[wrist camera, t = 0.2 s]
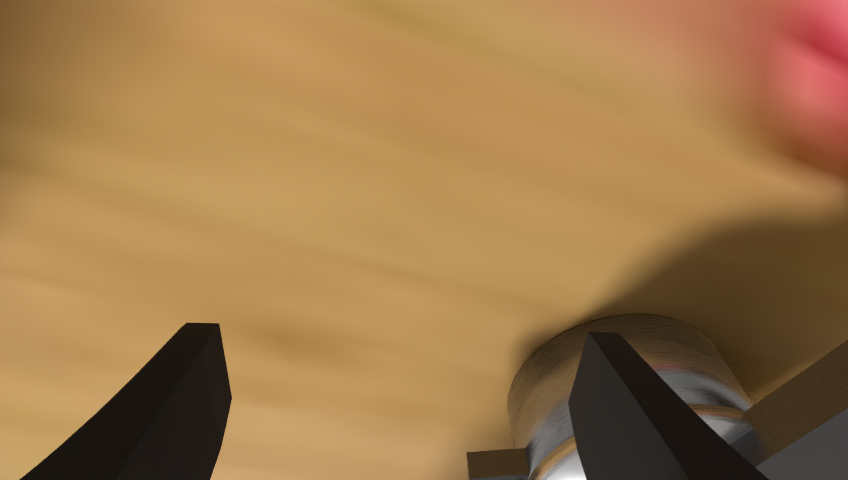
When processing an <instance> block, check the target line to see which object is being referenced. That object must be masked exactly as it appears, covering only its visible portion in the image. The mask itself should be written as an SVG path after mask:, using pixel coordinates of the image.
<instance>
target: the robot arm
mask: <svg viewBox="0 0 848 480" xmlns="http://www.w3.org/2000/svg"><path fill="white" fill-rule="evenodd" d="M231 400H232V396H231V390H230V384H229V379H228V373H227V367H226V361H225V355H224V349H223V344H222V338H221V332H220V326H219V324H218V323H186V324H185V325H184V326H182V327H181V328H180V329H179V330H178V331H177V332H176V333H175V334H174V336H173V337H172V338H171V339H170V340H169V341H168V342H167V343H166V344H165V345H164V346H163V347H162V348H161V349H160V350H159V351H158V352H157V353H156V354H155V355H154V356H153V357H152V358H151V360H150V361H149V362H148V363H147V364H146V365H145V366H144V367H143V368H142V369H141V370H140V371H139V372H138V373H137V374H136V375H135V376H134V377H133V378H132V379H131V380H130V381H129V382H128V383H127V384H126V385H125V386H124V387H123V388H122V389H121V390H120V391H119V392H118V393H117V394H116V395H115V396H114V397H113V398H112V399H111V400H110V401H109V402H107V403H106V404H105V405H104V406H103V407H102V408H101V409H100V410H99V411H98V412H97V413H96V414H95V415H94V416H93V417H92V418H90V419H89V420H88V421H87V422H86V423H85V424H84V425H83V426H82V427H81V428H79V429H78V430H77V431H76V432H75V433H74V434H73V435H72V436H71V437H69V438H68V439H67V440H66V441H65V442H64V443H63V444H62V445H61V446H59V447H58V448H57V449H56V450H55V451H54V452H52V453H51V454H50V455H49V456H48V457H47V458H45V459H44V460H43V461H42V462H41V463H39V464H38V465H37V466H36V467H35V468H33V469H32V470H31V471H30V472H28V473H27V474H26V475H25V476H24V477H22V478H21V479H20V480H210V478H211V475H212V472H213V469H214V466H215V464H216V461H217V458H218V455H219V452H220V449H221V445H222V441H223V436H224V432H225V428H226V423H227V419H228V414H229V409H230V404H231ZM568 406H569V411H570V417H571V422H572V427H573V432H574V437H575V442H576V447H577V451H578V455H579V458H580V461H581V464H582V467H583V470H584V473H585V476H586V479H587V480H769V479H768V478H767V477H766V476H764V475H763V474H762V473H761V472H760V471H759V470H757V469H756V468H755V467H754V466H753V465H752V464H750V463H749V462H748V461H747V460H746V459H745V458H744V457H742V456H741V455H740V454H739V453H738V452H737V451H736V450H735V449H734V448H733V447H731V446H730V445H729V444H728V443H727V442H726V441H725V440H724V439H723V438H722V437H720V436H719V435H718V434H717V433H716V432H715V431H714V430H713V429H712V428H711V427H710V426H709V425H708V424H707V423H706V422H705V421H704V420H702V419H701V418H700V417H699V416H698V415H697V414H696V413H695V412H694V411H693V410H692V409H691V408H690V407H689V406H688V405H687V404H686V403H685V402H684V401H683V400H682V399H681V398H680V397H679V396H678V395H677V394H676V393H675V392H674V391H673V390H672V388H671V387H670V386H669V385H668V384H667V383H666V382H665V381H664V380H663V379H662V378H661V377H660V376H659V375H658V374H657V373H656V372H655V371H654V370H653V369H652V368H651V367H650V365H649V364H648V363H647V362H646V361H645V360H644V359H643V358H642V357H641V356H640V355H639V354H638V353H637V352H636V351H635V350H634V348H633V347H632V346H631V345H630V344H629V343H628V342H627V341H626V340H625V339H624V338H623V337H622V336H621V335H620V334H619V333H611V332H588V334H587V338H586V341H585V345H584V348H583V352H582V355H581V359H580V362H579V366H578V369H577V373H576V377H575V380H574V384H573V387H572V391H571V394H570V398H569V401H568Z"/></svg>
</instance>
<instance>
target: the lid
mask: <svg viewBox="0 0 848 480" xmlns="http://www.w3.org/2000/svg"><path fill="white" fill-rule="evenodd" d="M687 405H688V406H689V407H690V408H691V409H692V410H693V411H694V412H695V413H696V414H697V415H698V416H699V417H700V418H701V419H702V420H704V421H705V422H706V423H707V424H708V425H709V426H710V427H711V428H712V429H713V430H714V431H715V432H716V433H717V434H718V435H719V436H720V437H722V438H723V439H724V440H725V441H726V442H727V443H728V444H729V445H730V446H731V447H733V448H734V449H735V450H736V451H737V452H738V453H739V454H740V455H741V456H742V457H744V458H745V459H746V460H747V461H748V462H749V463H750V464H752V465H753V466H754V467H755V468H756V469H757V470H759V471H760V472H761V473H762V474H763V475H764V476H766V477H767V478H768V479H769V480H818V479H820V478H822V477H823V476H825V475H827V474H828V473H830V472H832V471H833V470H835V469H837V468H838V467H840V466H842V465H844V464H845V463H847V462H848V340H847V341H846V342H844V343H843V344H842V345H840V346H839V347H837V348H836V349H834V350H833V351H831V352H830V353H829V354H827V355H826V356H824V357H823V358H821V359H820V360H818V361H817V362H816V363H814V364H813V365H811V366H810V367H808V368H807V369H805V370H804V371H803V372H801V373H800V374H798V375H797V376H795V377H794V378H792V379H791V380H790V381H788V382H787V383H785V384H784V385H782V386H781V387H779V388H778V389H777V390H775V391H774V392H772V393H771V394H769V395H768V396H766V397H765V398H764V399H762V400H761V401H759V402H758V403H756V404H755V405H753V406H752V407H751V408H749V409H748V410H746V411H745V412H744V411H741V410H738V409H734V408H729V407H724V406H717V405H706V404H687ZM528 480H587V479H586V476H585V473H584V470H583V467H582V464H581V461H580V458H579V455H578V451H577V447H576V442H575V437H574V436H573V437H572V438H570V439H568V440H567V441H565V442H564V443H563V444H561V445H560V446H558V447H557V448H556V449H554V450H553V451H552V452H551V453H550V454H549V455H548V456H547V457H545V458H544V459H543V460H542V461H541V463H540V464H539V465H538V466H537V467H536V468H535V469H534V471H533V472H532V474H531V475H530V477H529V479H528Z"/></svg>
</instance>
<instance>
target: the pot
mask: <svg viewBox="0 0 848 480" xmlns="http://www.w3.org/2000/svg"><path fill="white" fill-rule="evenodd" d="M588 332H611V333H619V334H620V335H621V336H622V337H623V338H624V339H625V340H626V341H627V342H628V343H629V344H630V345H631V346H632V347H633V348H634V350H635V351H636V352H637V353H638V354H639V355H640V356H641V357H642V358H643V359H644V360H645V361H646V362H647V363H648V364H649V365H650V367H651V368H652V369H653V370H654V371H655V372H656V373H657V374H658V375H659V376H660V377H661V378H662V379H663V380H664V381H665V382H666V383H667V384H668V385H669V386H670V387H671V388H672V390H673V391H674V392H675V393H676V394H677V395H678V396H679V397H680V398H681V399H682V400H683V401H684V402H685V403H686V404H706V405H717V406H724V407H729V408H734V409H738V410H741V411H744V412H745V411H746V410H748V409H749V408H751V407H752V406H753V404H752V402H751V401H750V399H749V398H748V396H747V395H746V393H745V391H744V390H743V388H742V387H741V385H740V384H739V382H738V381H737V379H736V378H735V376H734V375H733V373H732V372H731V370H730V368H729V367H728V365H727V364H726V362H725V361H724V359H723V358H722V356H721V355H720V353H719V352H718V350H717V349H716V347H715V346H714V344H713V343H712V341H711V340H710V339H708V338H707V337H706V336H705V335H704V334H703V333H702V332H700V331H699V330H697V329H696V328H694V327H692V326H690V325H688V324H686V323H684V322H681V321H678V320H675V319H672V318H668V317H663V316H657V315H645V314H633V315H620V316H612V317H607V318H603V319H598V320H594V321H591V322H588V323H585V324H582V325H579V326H577V327H575V328H572V329H570V330H568V331H566V332H564V333H562V334H560V335H559V336H557V337H555V338H553V339H552V340H550V341H549V342H547V343H546V344H545V345H543V346H542V347H540V348H539V349H538V350H537V351H536V352H535V353H534V354H533V355H531V356H530V358H529V359H528V360H527V361H526V362H525V363H524V364H523V365H522V367H521V368H520V370H519V371H518V373H517V374H516V376H515V378H514V380H513V382H512V384H511V387H510V391H509V394H508V403H507V407H508V416H509V421H510V426H511V431H512V436H513V441H514V446H515V449H506V450H493V451H480V452H467V471H468V480H528V479H529V477H530V475H531V474H532V472H533V471H534V469H535V468H536V467H537V466H538V465H539V464H540V463H541V461H542V460H543V459H544V458H545V457H547V456H548V455H549V454H550V453H551V452H552V451H553V450H554V449H556V448H557V447H558V446H560V445H561V444H563V443H564V442H565V441H567V440H568V439H570V438H572V437H573V436H574V432H573V427H572V422H571V417H570V411H569V406H568V401H569V398H570V394H571V391H572V387H573V384H574V380H575V377H576V373H577V369H578V366H579V362H580V359H581V355H582V352H583V348H584V345H585V341H586V338H587V334H588ZM818 480H848V462H847V463H845V464H844V465H842V466H840V467H838V468H837V469H835V470H833V471H832V472H830V473H828V474H827V475H825V476H823V477H822V478H820V479H818Z"/></svg>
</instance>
